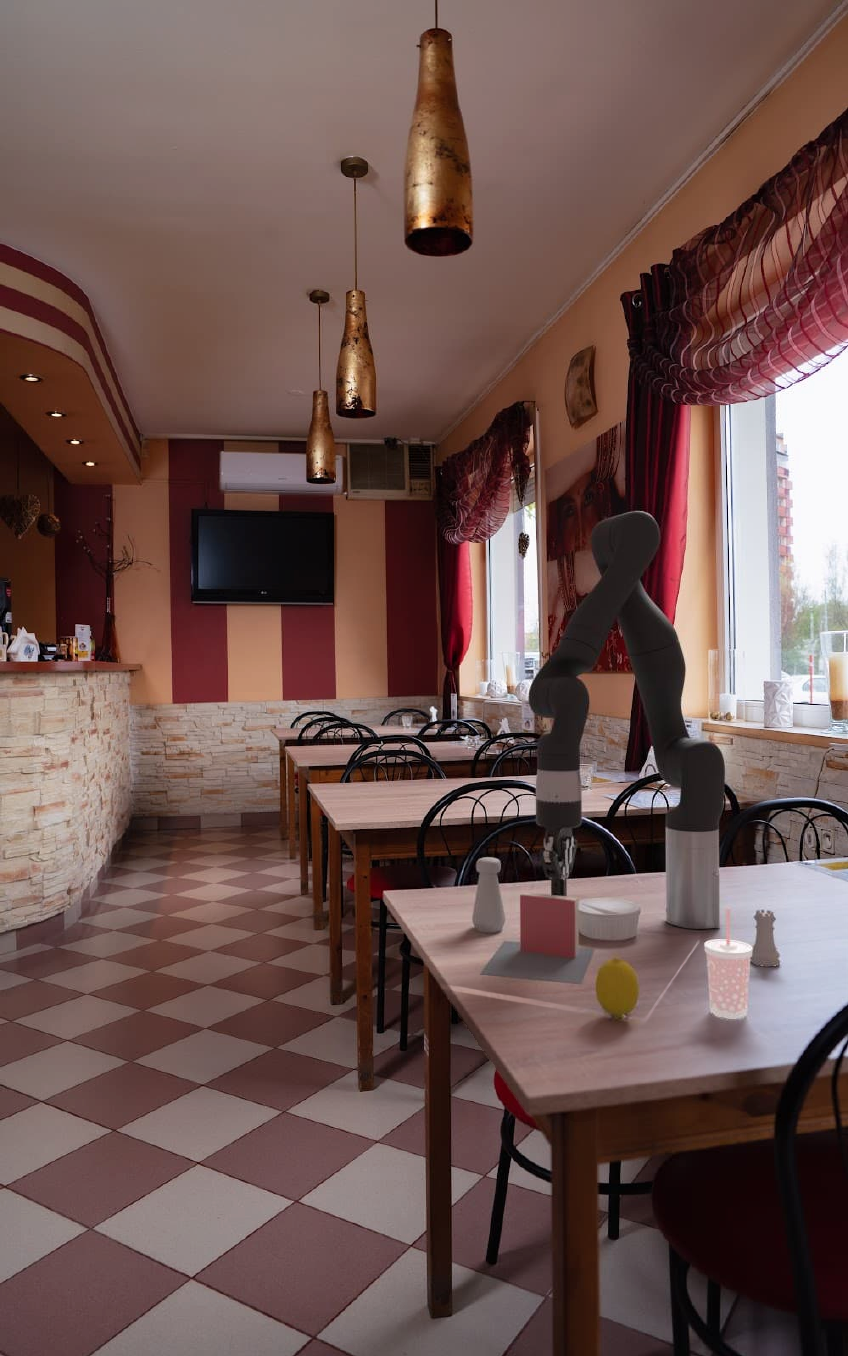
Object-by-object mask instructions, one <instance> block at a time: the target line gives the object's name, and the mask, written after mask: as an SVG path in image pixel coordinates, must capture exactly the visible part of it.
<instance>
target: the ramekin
mask: <svg viewBox="0 0 848 1356" xmlns="http://www.w3.org/2000/svg"><path fill="white" fill-rule="evenodd" d="M640 915H641V906H640V905H639V904H638V903H636V902H633V901H630V900H626V899H621V898H615V897H595V898H594V897H593V898H586V899H582V900H579V934H581V935H583V936H585V937H586V938H590V939H593V940H600V941H601V940H602V941H624V940H629V939H632V938H633V937H635V936H636V934H637V932H638V926H639V919H640Z"/></svg>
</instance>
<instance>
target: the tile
mask: <svg viewBox="0 0 848 1356" xmlns="http://www.w3.org/2000/svg"><path fill="white" fill-rule="evenodd" d="M579 901H580V900H579V897H572V896H567V897H566V896H557V895H551V894H549V893H548V894H546V893H539V892H529V891H524V892H523V893H521V894H520V896H519V919H520V920H519V924H520V926H519V930H520V933H519V937H520V939H519V942H520V951H525V952H532V953H538V954H545V955H552V956H559V957H566V958H573V959H575V958H576V957H577V956H578V955H579V947H580V932H579Z"/></svg>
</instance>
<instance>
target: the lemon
mask: <svg viewBox="0 0 848 1356" xmlns="http://www.w3.org/2000/svg"><path fill="white" fill-rule="evenodd" d="M639 991H640V988H639V981H638V977H637V974H636V972H635V969H634V967H632V966H631V964H629V963H627V962H626V961H624V960H622V959H620V957H614V958H613V959H611V960H608V961H606V962H605V963H603V964H602V966H601V967H600V968H599V970H598V971H597V975H596V979H595V995H596V998H597V1002H598V1003H599V1005H600V1006H601V1008H602V1009H603V1010H604V1011H605V1012H607V1013H608V1014H610V1015H612V1017H613V1018H615V1019H617V1020H619V1019H621V1018H622V1016H623V1015H627V1014H629V1013H631V1011H632V1010H633V1009H634V1008H635V1006H637V1005H636V1004H637V1002H638V998H639V996H640V995H639V993H640V992H639Z"/></svg>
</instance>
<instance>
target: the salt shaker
mask: <svg viewBox="0 0 848 1356" xmlns="http://www.w3.org/2000/svg"><path fill="white" fill-rule="evenodd" d="M501 864H502V863H501V860H500V859H498V858H496V857H492V856H490V857H489V856H486V857H484V856H483V857H481V858H479V859H478V860H477V861H476V863H475V869H476V872H477V873H479V875H478V881H477V886H476V887H477V888H476V893H475V899H474V900H475V901H474V904H473V905H474V906H473V912H472V917H471V920H472V923H473V926H474V929H475V930H476V931H478V932H480V933H484V934H495V933H498V932H502V930H503V928H504V926H505V922H506V914H505V913H506V912H505V908H504V905H503V899H502V894H501V889H500V884H499V878H498V873H500V872H501V869H502V868H501V867H502V865H501Z"/></svg>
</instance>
